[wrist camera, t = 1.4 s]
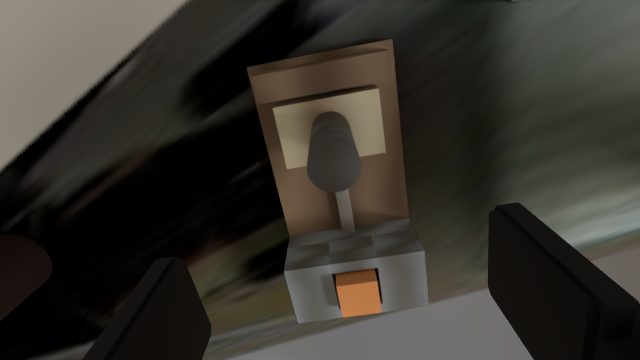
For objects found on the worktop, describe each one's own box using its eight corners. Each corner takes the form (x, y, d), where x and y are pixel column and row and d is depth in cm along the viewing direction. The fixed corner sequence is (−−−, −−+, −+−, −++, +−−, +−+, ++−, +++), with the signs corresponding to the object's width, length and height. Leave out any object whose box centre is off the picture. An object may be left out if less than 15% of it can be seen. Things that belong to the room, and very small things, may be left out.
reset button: (372, 258, 30) (377, 280, 28) (376, 288, 32) (381, 312, 29) (335, 264, 31) (336, 286, 28) (340, 293, 32) (342, 317, 29)
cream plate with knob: (374, 84, 27) (402, 109, 17) (381, 143, 29) (410, 196, 19) (276, 102, 27) (251, 137, 18) (289, 159, 29) (273, 218, 20)
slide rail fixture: (388, 39, 28) (408, 39, 22) (410, 258, 37) (428, 305, 30) (250, 66, 29) (229, 74, 23) (302, 274, 38) (298, 323, 31)
